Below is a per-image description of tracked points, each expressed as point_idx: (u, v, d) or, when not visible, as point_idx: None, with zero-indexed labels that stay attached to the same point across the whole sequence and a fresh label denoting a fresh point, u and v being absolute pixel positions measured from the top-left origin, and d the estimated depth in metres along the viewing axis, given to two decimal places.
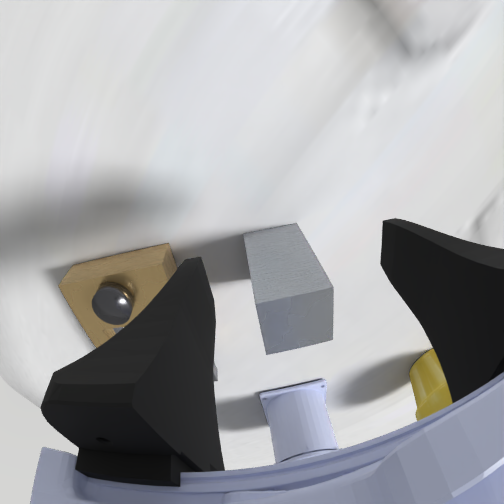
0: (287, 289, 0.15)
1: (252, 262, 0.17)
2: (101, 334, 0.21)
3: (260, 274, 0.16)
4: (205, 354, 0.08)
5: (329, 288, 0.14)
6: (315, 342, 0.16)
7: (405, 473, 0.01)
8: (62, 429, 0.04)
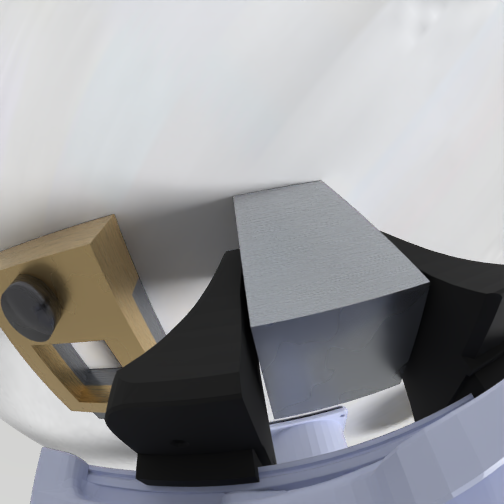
0: (329, 291, 0.06)
1: (246, 237, 0.09)
2: (32, 352, 0.12)
3: (262, 257, 0.08)
4: (254, 346, 0.08)
5: (422, 285, 0.05)
6: (370, 392, 0.07)
7: (405, 473, 0.01)
8: (126, 435, 0.04)
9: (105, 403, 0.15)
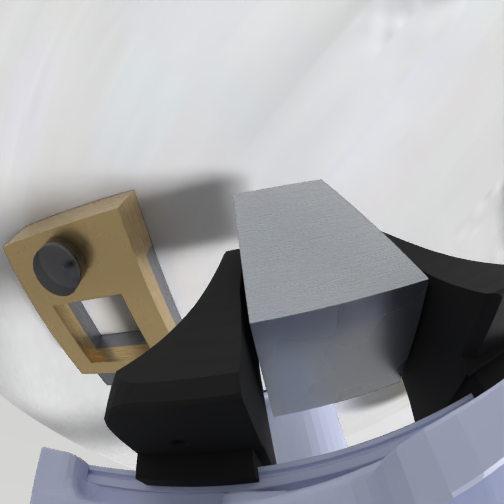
0: (327, 287, 0.06)
1: (246, 235, 0.09)
2: (53, 312, 0.15)
3: (261, 254, 0.08)
4: (254, 346, 0.08)
5: (421, 282, 0.06)
6: (369, 390, 0.07)
7: (405, 473, 0.01)
8: (127, 435, 0.04)
9: (115, 362, 0.18)
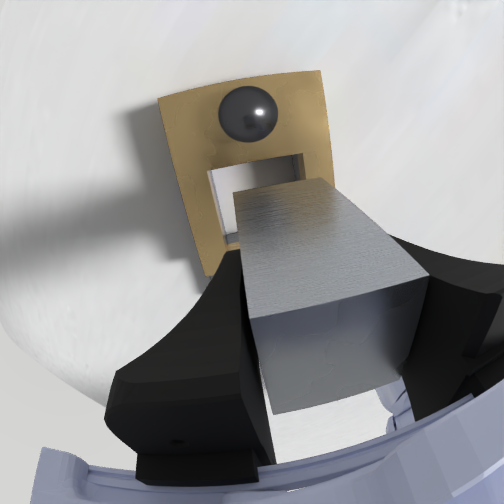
0: (327, 283, 0.06)
1: (246, 231, 0.09)
2: (203, 181, 0.16)
3: (261, 250, 0.08)
4: (254, 346, 0.08)
5: (421, 278, 0.05)
6: (369, 388, 0.07)
7: (405, 473, 0.01)
8: (126, 435, 0.04)
9: None
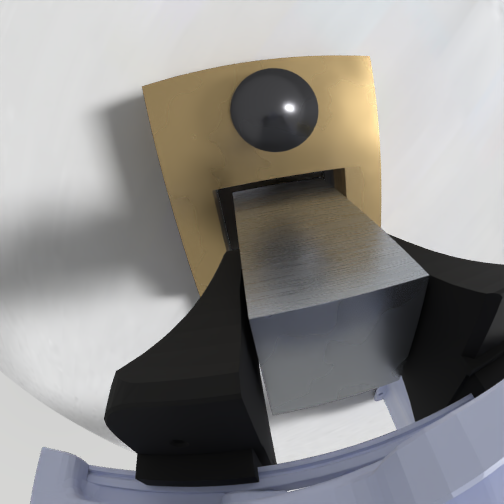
0: (327, 283, 0.06)
1: (245, 231, 0.09)
2: (207, 205, 0.11)
3: (261, 251, 0.08)
4: (254, 346, 0.08)
5: (421, 278, 0.05)
6: (369, 388, 0.07)
7: (405, 473, 0.01)
8: (126, 435, 0.04)
9: None
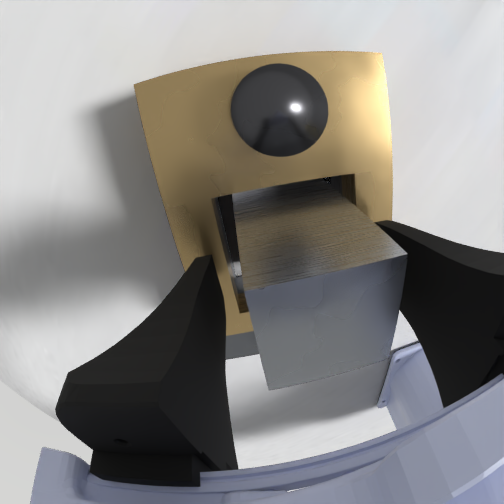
0: (314, 261, 0.07)
1: (242, 220, 0.10)
2: (205, 214, 0.11)
3: (256, 236, 0.08)
4: (218, 352, 0.08)
5: (400, 257, 0.06)
6: (359, 365, 0.08)
7: (405, 473, 0.01)
8: (77, 431, 0.04)
9: None
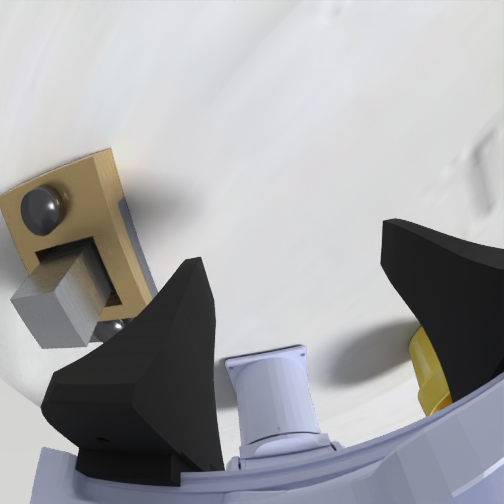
0: (31, 290, 0.13)
1: (39, 265, 0.15)
2: (34, 259, 0.16)
3: (33, 275, 0.14)
4: (205, 354, 0.08)
5: (51, 292, 0.12)
6: (72, 345, 0.14)
7: (405, 473, 0.01)
8: (62, 429, 0.04)
9: None
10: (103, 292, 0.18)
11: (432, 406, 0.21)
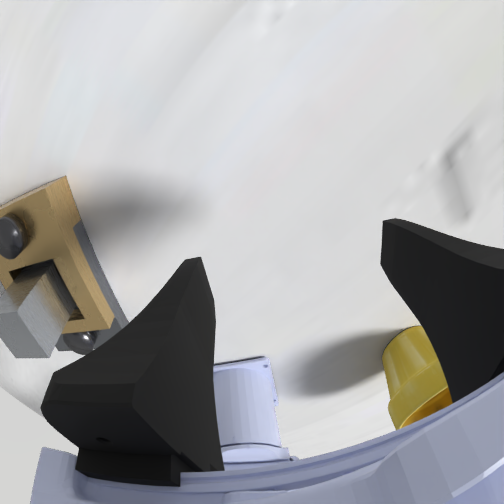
0: (1, 308, 0.13)
1: (11, 284, 0.16)
2: (9, 277, 0.17)
3: (5, 294, 0.15)
4: (205, 354, 0.08)
5: (15, 311, 0.12)
6: (38, 356, 0.14)
7: (405, 473, 0.01)
8: (62, 429, 0.04)
9: None
10: (66, 308, 0.18)
11: (400, 422, 0.21)
